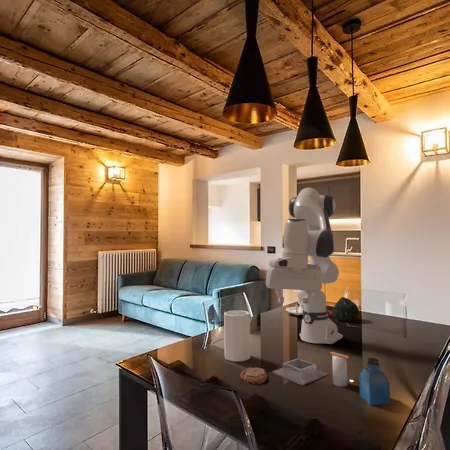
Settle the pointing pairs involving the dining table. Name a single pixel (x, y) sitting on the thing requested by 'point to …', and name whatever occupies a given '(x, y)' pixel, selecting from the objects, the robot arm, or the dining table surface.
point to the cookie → (254, 375)
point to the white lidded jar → (339, 369)
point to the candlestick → (297, 309)
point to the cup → (237, 335)
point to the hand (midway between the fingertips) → (293, 302)
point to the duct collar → (299, 371)
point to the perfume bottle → (374, 384)
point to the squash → (346, 310)
